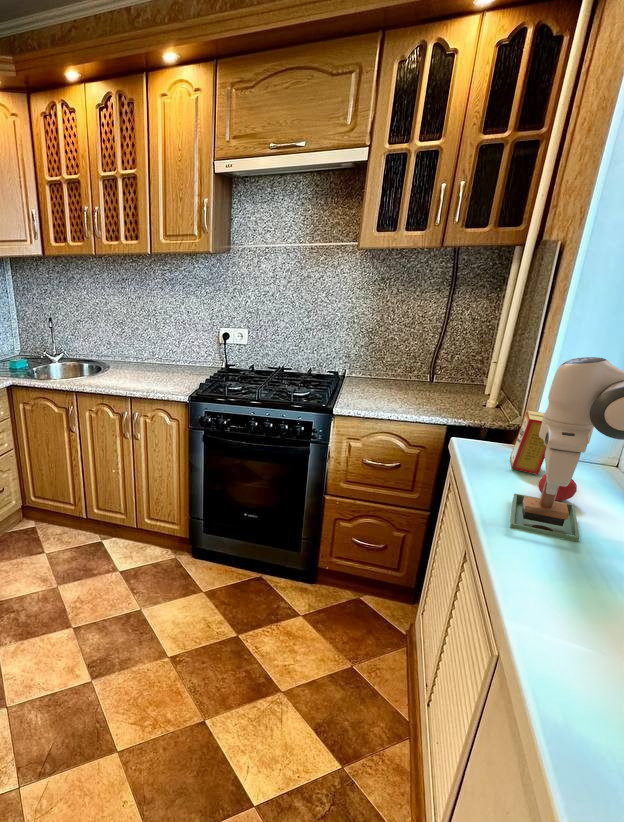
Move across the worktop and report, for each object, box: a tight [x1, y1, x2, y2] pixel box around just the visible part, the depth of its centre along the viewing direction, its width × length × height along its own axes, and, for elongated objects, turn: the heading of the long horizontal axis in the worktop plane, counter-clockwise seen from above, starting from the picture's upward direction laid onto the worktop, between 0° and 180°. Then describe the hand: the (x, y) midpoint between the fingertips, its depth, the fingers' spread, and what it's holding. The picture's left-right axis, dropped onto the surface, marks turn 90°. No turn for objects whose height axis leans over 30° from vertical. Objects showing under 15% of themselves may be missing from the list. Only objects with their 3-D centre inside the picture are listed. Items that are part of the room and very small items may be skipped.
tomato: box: [537, 474, 578, 502], centre depth 135 cm, size 8×8×8 cm
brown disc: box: [532, 525, 553, 532], centre depth 119 cm, size 4×4×1 cm
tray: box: [509, 493, 580, 543], centre depth 124 cm, size 19×12×3 cm, turn 145°
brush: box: [522, 478, 569, 526], centre depth 120 cm, size 8×5×11 cm, turn 59°
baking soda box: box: [509, 409, 547, 475], centre depth 153 cm, size 10×6×16 cm
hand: (550, 490), depth 119 cm, fingers closed on brush, 3 cm apart
